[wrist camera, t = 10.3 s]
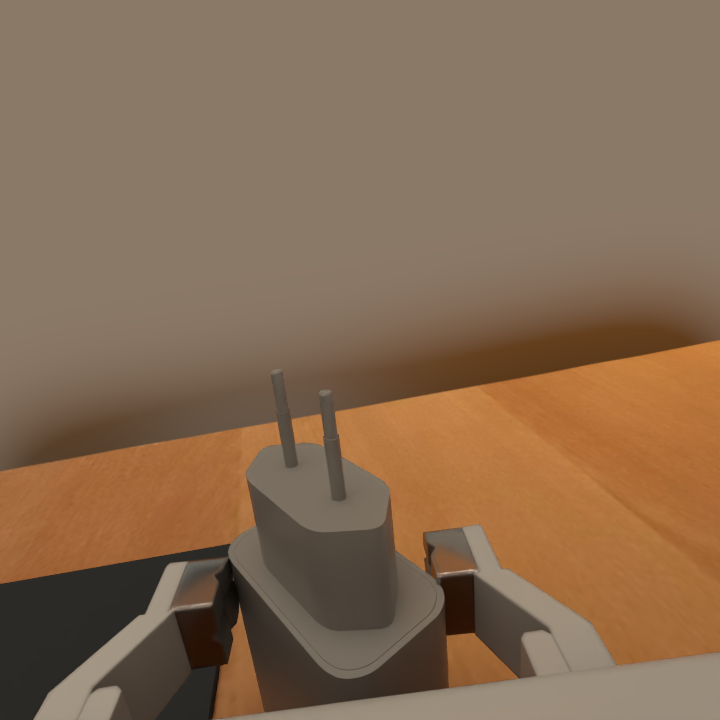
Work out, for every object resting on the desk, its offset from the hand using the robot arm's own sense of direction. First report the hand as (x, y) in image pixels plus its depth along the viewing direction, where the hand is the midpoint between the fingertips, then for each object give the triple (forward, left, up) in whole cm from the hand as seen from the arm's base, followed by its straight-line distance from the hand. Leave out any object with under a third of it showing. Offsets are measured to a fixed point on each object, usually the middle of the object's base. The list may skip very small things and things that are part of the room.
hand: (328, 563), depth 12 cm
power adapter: (+1, +1, -7) cm, 7 cm away
